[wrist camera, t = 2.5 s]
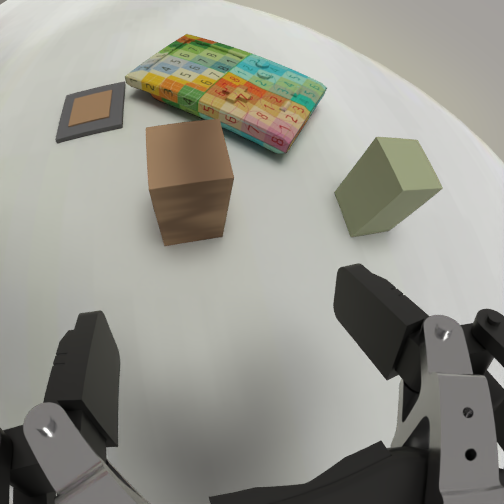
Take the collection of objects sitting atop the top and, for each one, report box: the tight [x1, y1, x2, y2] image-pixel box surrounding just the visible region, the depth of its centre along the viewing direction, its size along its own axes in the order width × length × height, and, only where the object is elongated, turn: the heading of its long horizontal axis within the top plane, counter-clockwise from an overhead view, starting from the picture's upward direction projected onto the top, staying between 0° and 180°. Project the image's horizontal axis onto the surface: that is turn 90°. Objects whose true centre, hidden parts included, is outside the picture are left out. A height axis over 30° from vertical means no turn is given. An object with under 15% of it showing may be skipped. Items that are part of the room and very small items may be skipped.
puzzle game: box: [125, 34, 327, 153], centre depth 30 cm, size 12×5×20 cm
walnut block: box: [146, 119, 234, 246], centre depth 21 cm, size 5×5×9 cm
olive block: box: [334, 137, 443, 237], centre depth 25 cm, size 5×5×9 cm
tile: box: [56, 82, 125, 143], centre depth 28 cm, size 8×8×1 cm
